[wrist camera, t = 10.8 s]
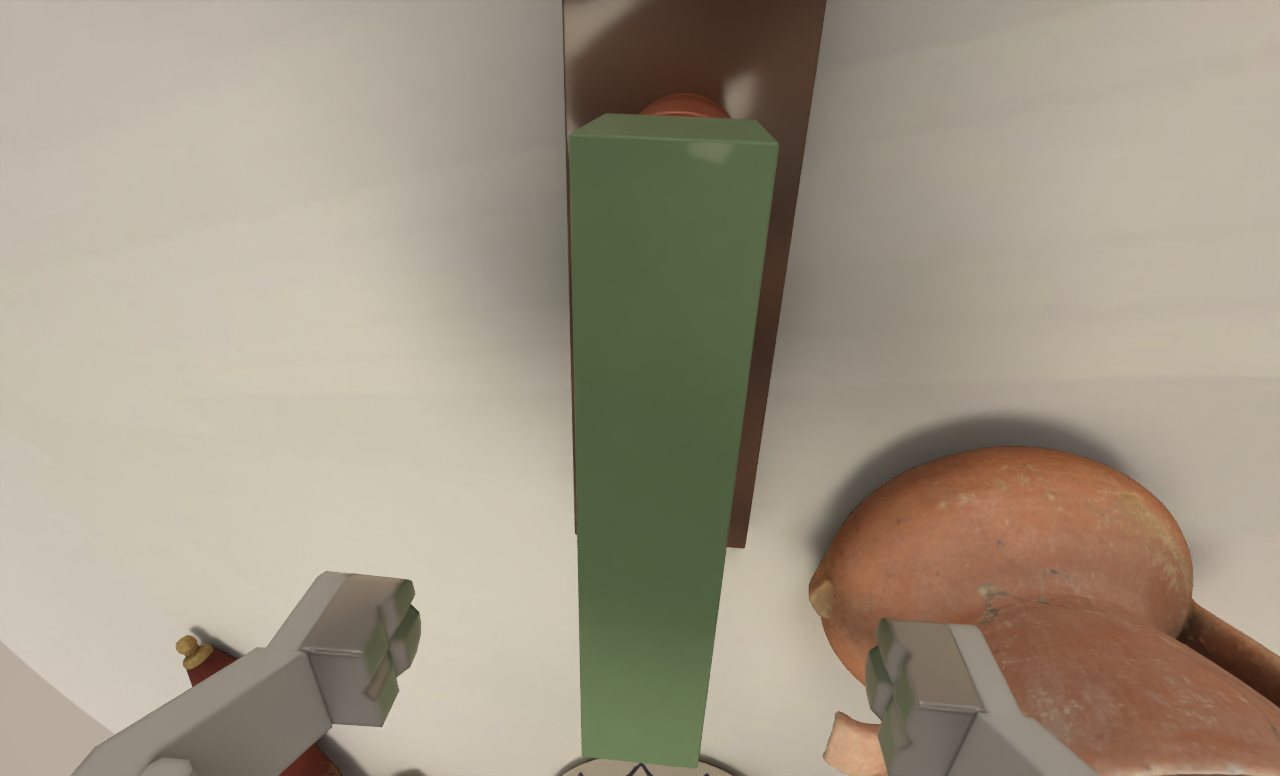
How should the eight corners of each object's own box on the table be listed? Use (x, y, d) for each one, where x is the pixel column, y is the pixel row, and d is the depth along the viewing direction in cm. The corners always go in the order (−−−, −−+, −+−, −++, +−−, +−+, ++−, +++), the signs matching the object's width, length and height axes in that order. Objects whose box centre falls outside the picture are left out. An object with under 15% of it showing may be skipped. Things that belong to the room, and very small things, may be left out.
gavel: (89, 690, 35) (211, 650, 33) (155, 629, 40) (268, 589, 37) (309, 895, 42) (425, 877, 40) (346, 825, 47) (453, 804, 44)
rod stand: (570, -17, 20) (477, -74, 12) (820, -10, 19) (912, -63, 11) (580, 514, 30) (534, 687, 22) (743, 527, 30) (760, 709, 21)
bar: (603, 112, 13) (567, 131, 9) (757, 119, 13) (780, 142, 9) (601, 637, 20) (581, 757, 17) (698, 646, 20) (697, 770, 17)
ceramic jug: (762, 631, 33) (801, 979, 21) (813, 397, 26) (918, 705, 14) (1107, 668, 32) (1367, 1054, 20) (1254, 436, 25) (1796, 803, 13)
